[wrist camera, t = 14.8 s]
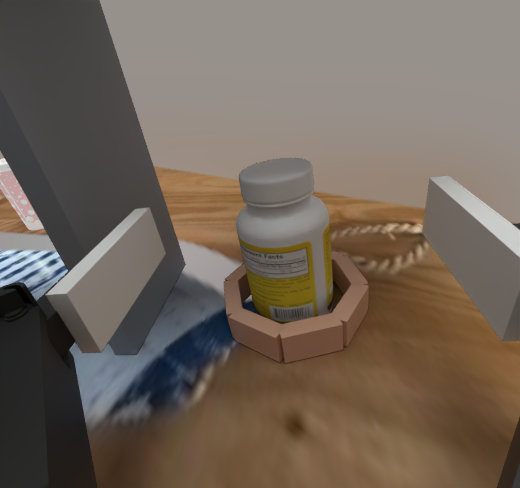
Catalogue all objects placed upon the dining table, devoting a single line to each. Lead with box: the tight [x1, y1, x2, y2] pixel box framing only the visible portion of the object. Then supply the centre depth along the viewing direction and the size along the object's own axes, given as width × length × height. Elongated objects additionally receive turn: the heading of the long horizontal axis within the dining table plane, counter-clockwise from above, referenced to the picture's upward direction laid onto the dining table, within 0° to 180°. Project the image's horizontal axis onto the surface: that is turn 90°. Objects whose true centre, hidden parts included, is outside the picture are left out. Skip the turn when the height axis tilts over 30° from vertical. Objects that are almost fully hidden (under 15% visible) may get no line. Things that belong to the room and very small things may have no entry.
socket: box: [224, 251, 369, 363], centre depth 21 cm, size 9×9×2 cm
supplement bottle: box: [236, 158, 333, 324], centre depth 19 cm, size 5×5×10 cm
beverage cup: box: [0, 158, 44, 230], centre depth 40 cm, size 6×6×14 cm
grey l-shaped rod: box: [0, 0, 186, 355], centre depth 17 cm, size 10×20×22 cm, turn 84°
